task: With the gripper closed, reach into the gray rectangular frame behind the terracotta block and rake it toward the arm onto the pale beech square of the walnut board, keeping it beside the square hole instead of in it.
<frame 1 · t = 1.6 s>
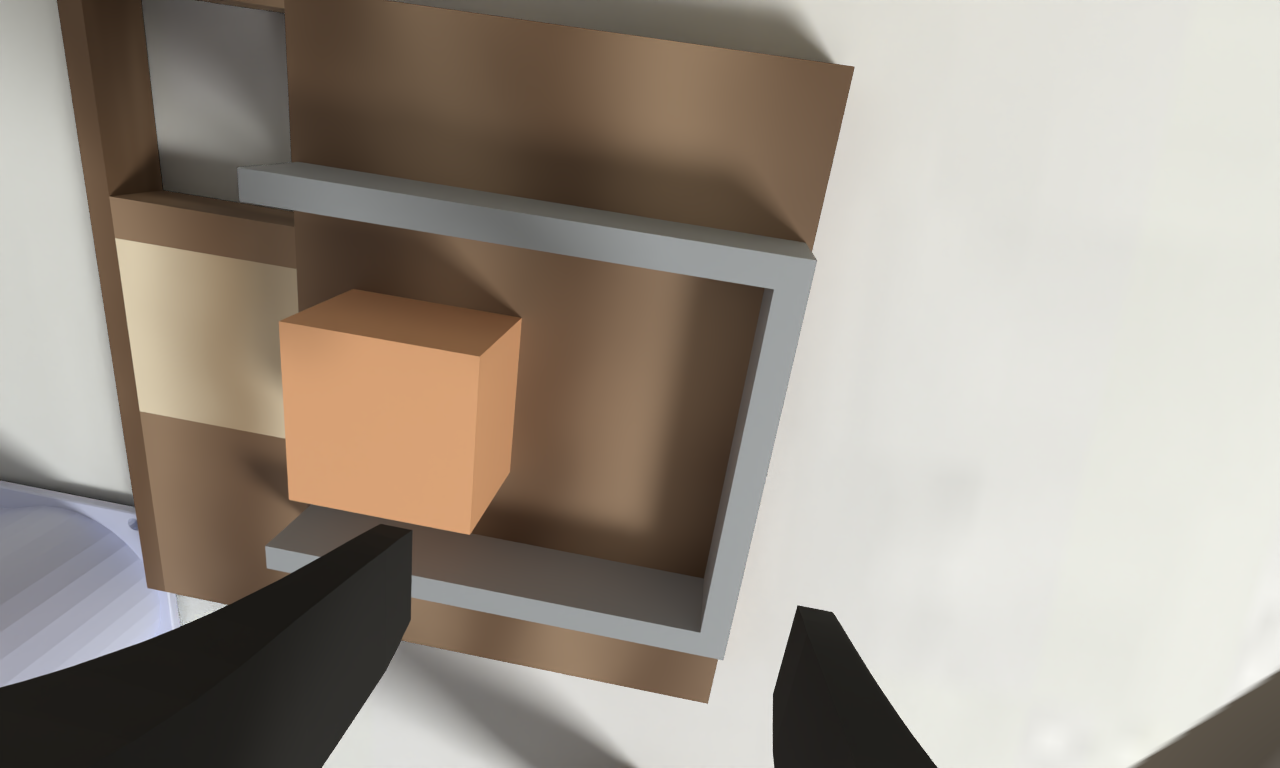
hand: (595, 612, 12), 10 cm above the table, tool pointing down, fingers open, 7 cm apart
block: (434, 383, 21), point 2 cm above the table, touching board
gray rectangular frame: (516, 417, 19), on the board, point 3 cm above the table
board: (459, 362, 22), on the table
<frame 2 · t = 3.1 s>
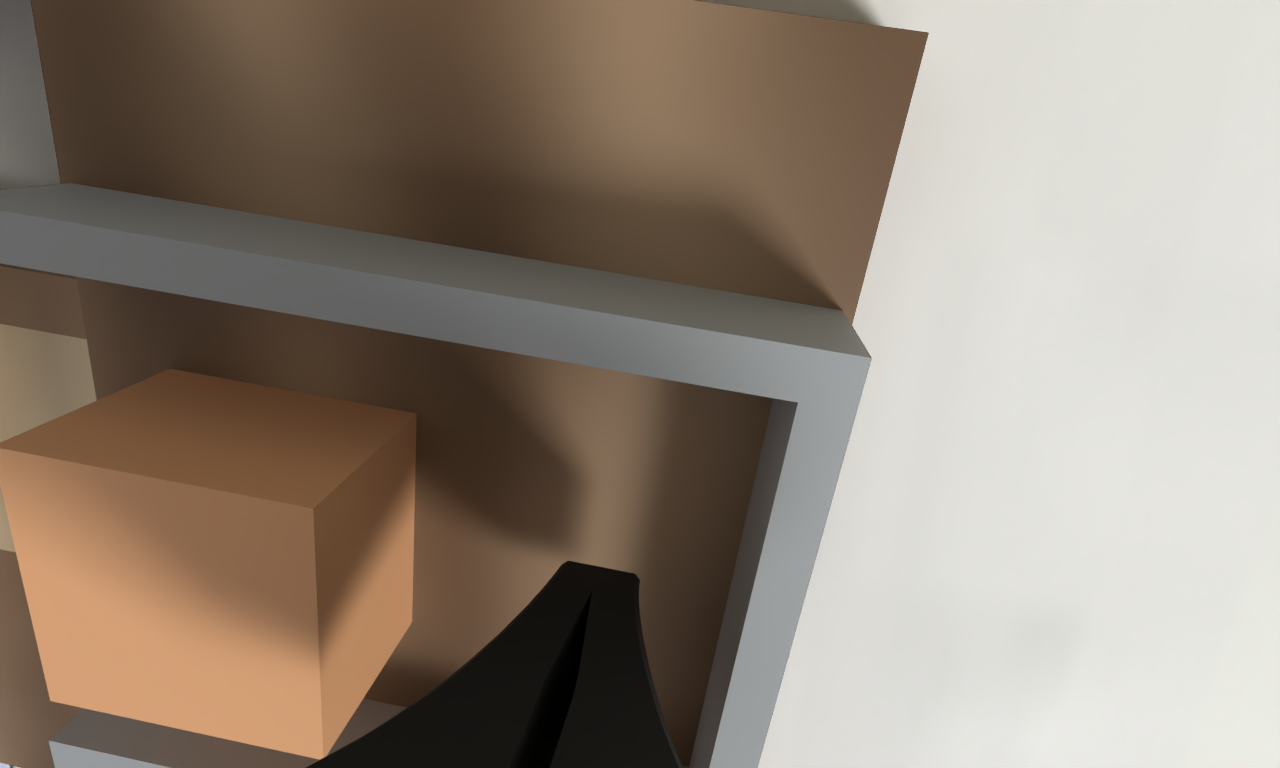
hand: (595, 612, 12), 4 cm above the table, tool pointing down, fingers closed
block: (297, 502, 14), point 2 cm above the table, touching board
gray rectangular frame: (406, 564, 13), on the board, point 3 cm above the table
board: (347, 458, 16), on the table
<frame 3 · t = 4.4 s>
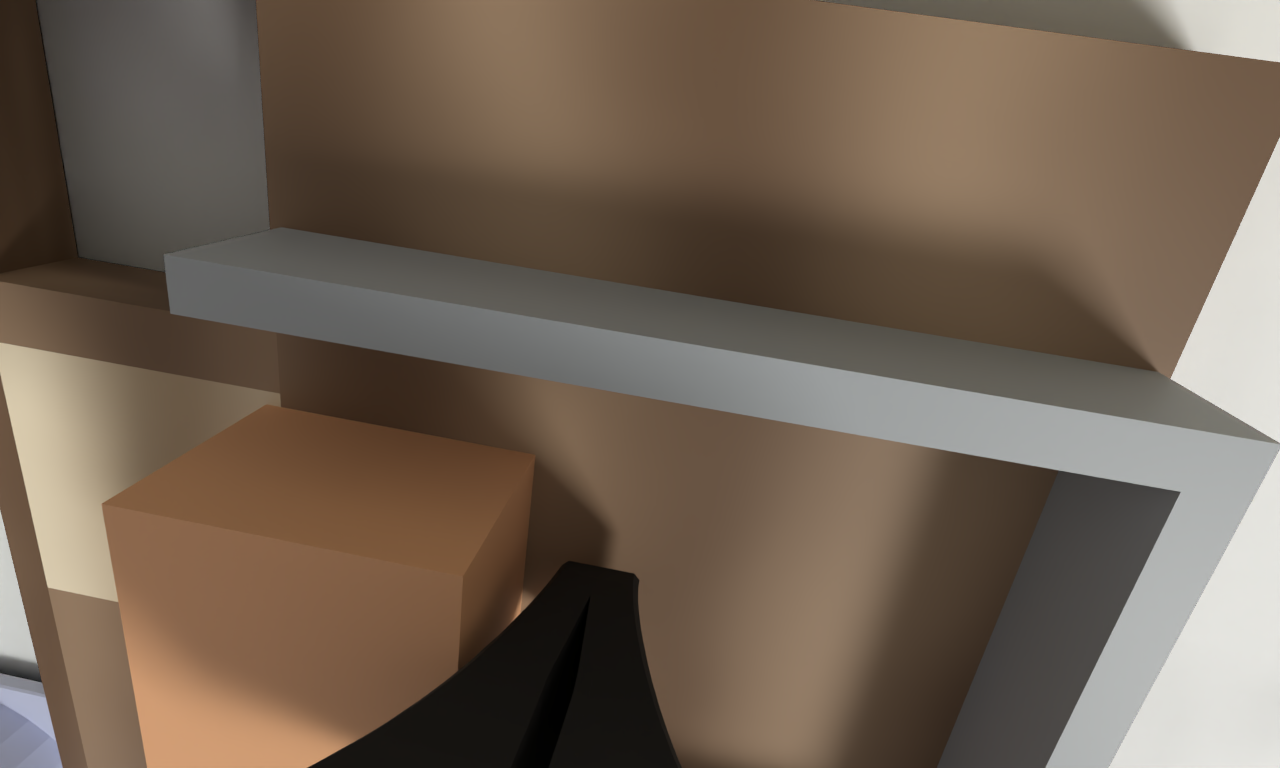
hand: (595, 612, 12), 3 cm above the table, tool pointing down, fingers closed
block: (397, 546, 13), point 2 cm above the table, touching board
gray rectangular frame: (639, 643, 12), on the board, point 3 cm above the table
board: (527, 511, 15), on the table
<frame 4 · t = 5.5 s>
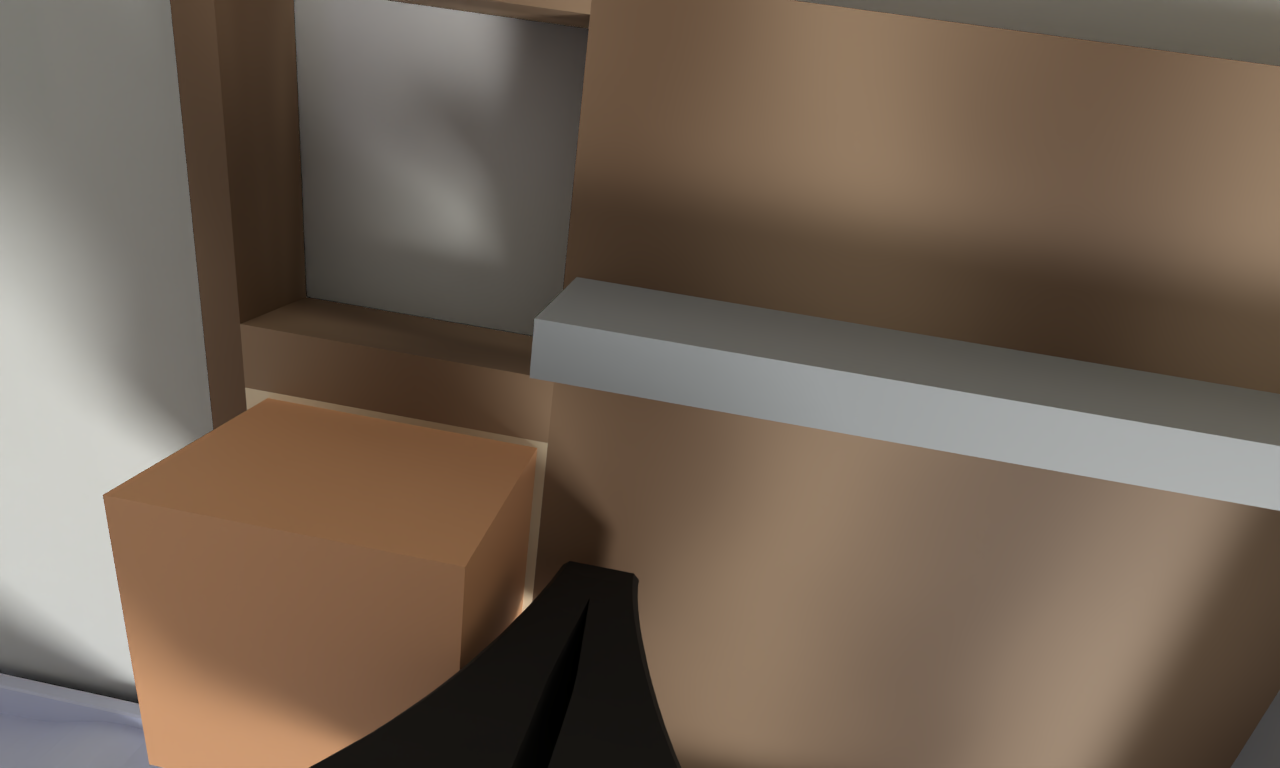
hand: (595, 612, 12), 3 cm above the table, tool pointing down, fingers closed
block: (399, 540, 13), point 2 cm above the table, touching board, gripper
gray rectangular frame: (931, 702, 11), on the board, point 3 cm above the table
board: (752, 555, 15), on the table
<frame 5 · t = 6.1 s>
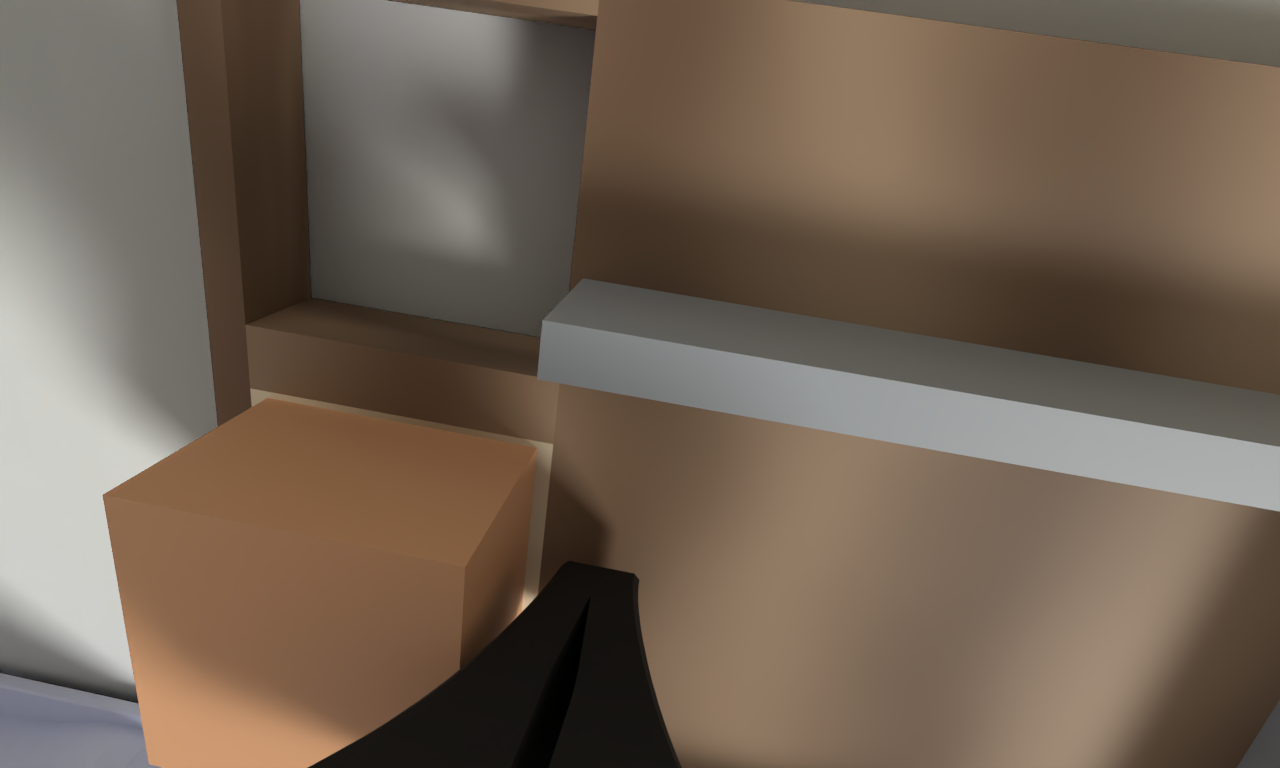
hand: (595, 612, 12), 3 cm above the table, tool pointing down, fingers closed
block: (399, 540, 13), point 2 cm above the table, touching board, gripper
gray rectangular frame: (937, 703, 11), on the board, point 3 cm above the table
board: (756, 556, 15), on the table
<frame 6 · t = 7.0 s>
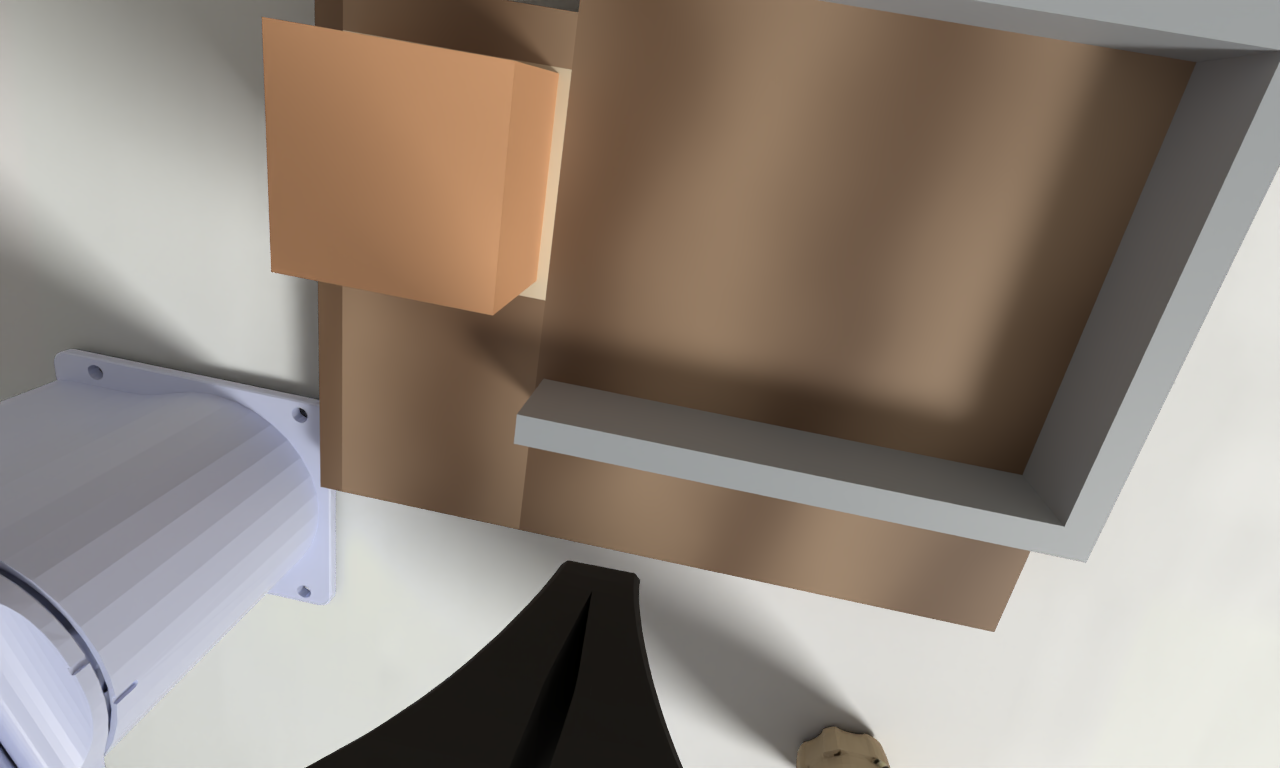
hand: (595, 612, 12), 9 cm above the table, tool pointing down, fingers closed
handle: (840, 750, 25), on the table
block: (449, 164, 17), point 2 cm above the table, touching board
gray rectangular frame: (850, 253, 16), on the board, point 3 cm above the table
board: (725, 212, 19), on the table
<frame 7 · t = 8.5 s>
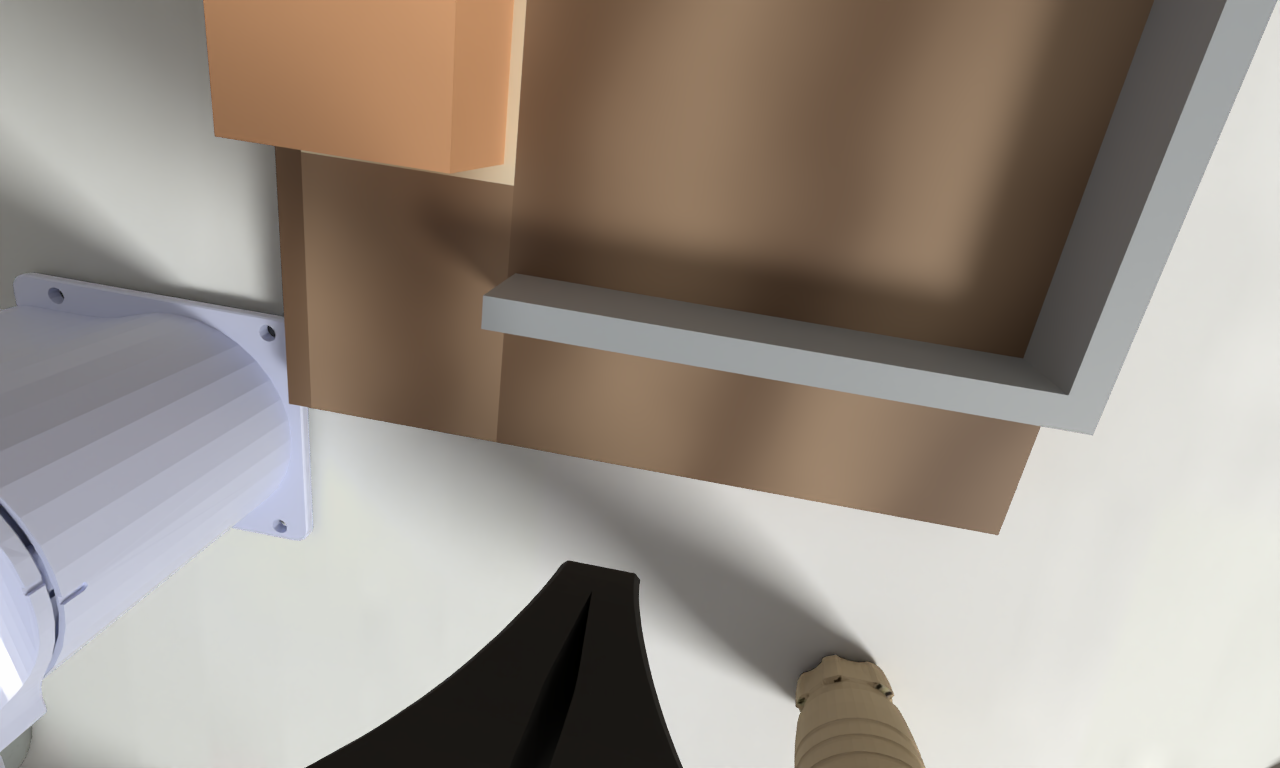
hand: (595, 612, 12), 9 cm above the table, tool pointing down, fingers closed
handle: (841, 682, 24), on the table
block: (408, 38, 16), point 2 cm above the table, touching board
gray rectangular frame: (832, 106, 15), on the board, point 3 cm above the table
board: (702, 92, 18), on the table
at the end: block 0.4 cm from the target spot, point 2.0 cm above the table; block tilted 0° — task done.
